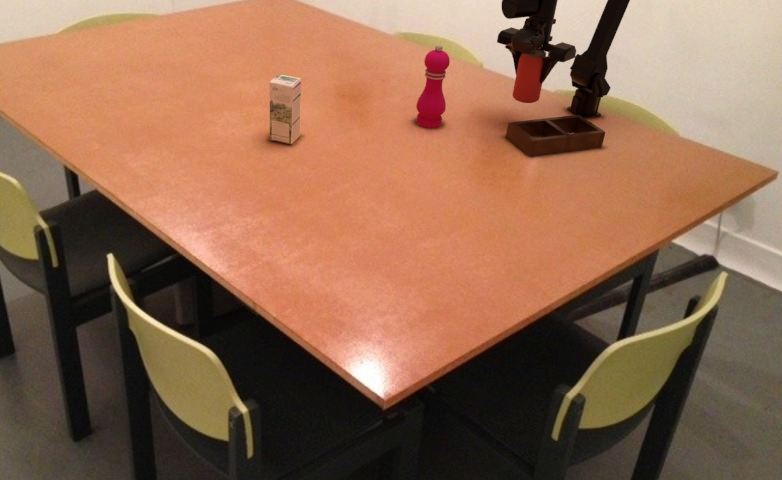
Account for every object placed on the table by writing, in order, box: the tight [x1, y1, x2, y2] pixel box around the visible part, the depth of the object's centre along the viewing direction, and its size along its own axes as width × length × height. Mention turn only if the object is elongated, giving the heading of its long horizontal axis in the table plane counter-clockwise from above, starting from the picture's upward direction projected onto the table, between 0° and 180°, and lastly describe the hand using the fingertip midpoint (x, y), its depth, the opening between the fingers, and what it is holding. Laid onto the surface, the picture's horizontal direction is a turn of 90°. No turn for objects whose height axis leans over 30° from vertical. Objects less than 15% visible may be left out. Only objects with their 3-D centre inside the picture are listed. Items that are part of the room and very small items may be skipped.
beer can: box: [512, 49, 547, 104], centre depth 189 cm, size 7×7×12 cm
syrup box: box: [269, 73, 302, 145], centre depth 177 cm, size 6×6×14 cm
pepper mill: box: [416, 43, 451, 129], centre depth 188 cm, size 7×7×20 cm
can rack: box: [505, 114, 607, 157], centre depth 187 cm, size 21×11×4 cm, turn 111°
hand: (529, 78), depth 190 cm, fingers closed on beer can, 6 cm apart
